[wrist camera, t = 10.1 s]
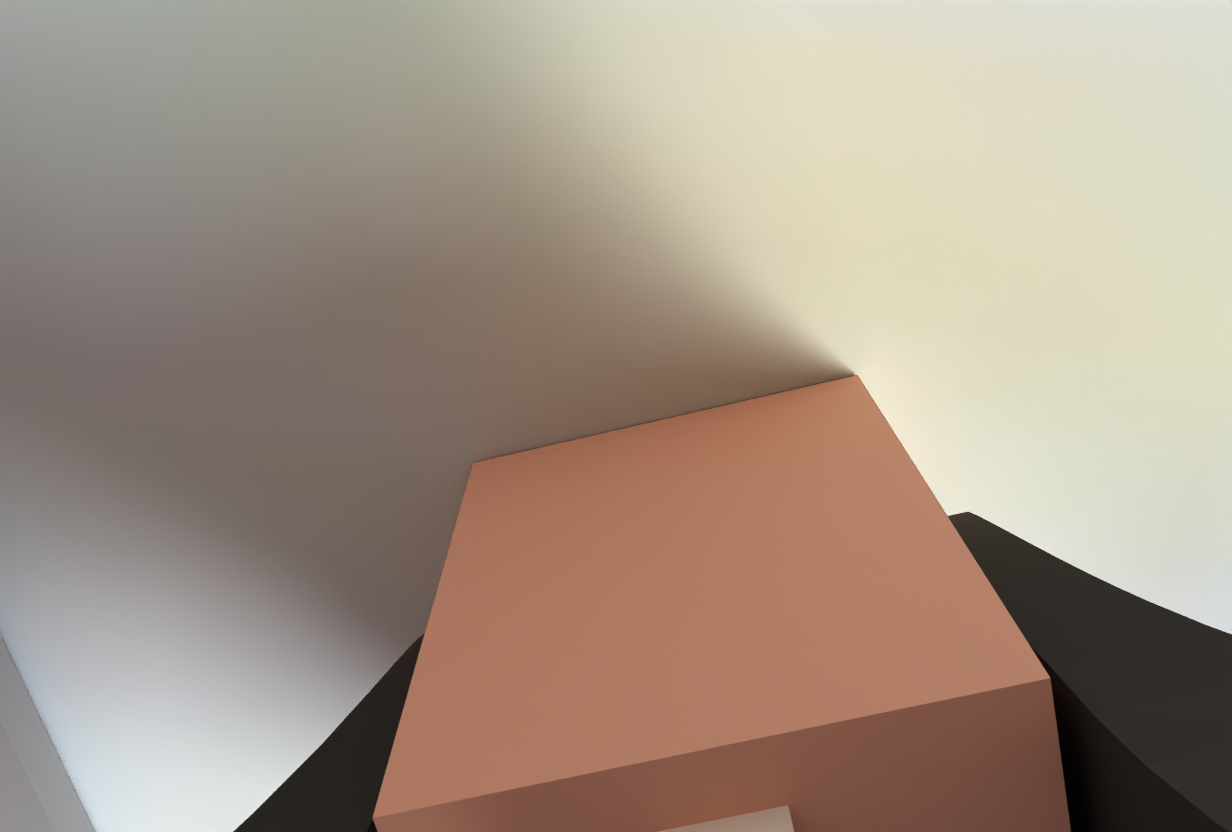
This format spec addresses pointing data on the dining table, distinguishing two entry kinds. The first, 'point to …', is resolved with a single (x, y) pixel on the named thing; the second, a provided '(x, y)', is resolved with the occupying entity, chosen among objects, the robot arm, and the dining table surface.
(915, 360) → the dining table surface
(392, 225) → the dining table surface
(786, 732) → the pink block
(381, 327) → the dining table surface
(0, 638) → the jig
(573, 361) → the dining table surface
